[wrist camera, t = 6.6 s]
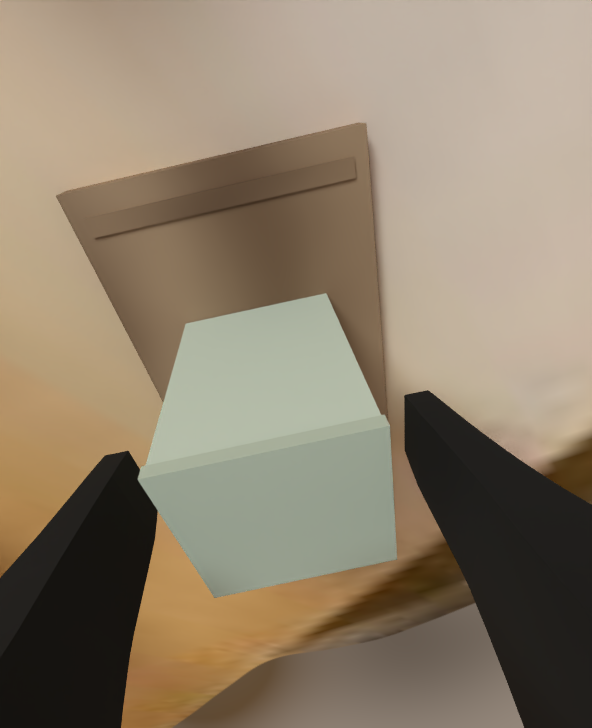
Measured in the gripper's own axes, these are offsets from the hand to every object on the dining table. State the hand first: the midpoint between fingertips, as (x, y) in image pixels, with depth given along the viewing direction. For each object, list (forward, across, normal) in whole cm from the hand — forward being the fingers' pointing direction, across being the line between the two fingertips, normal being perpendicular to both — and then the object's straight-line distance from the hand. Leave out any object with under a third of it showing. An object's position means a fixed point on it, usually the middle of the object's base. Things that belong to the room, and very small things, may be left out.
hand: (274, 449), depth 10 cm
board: (+5, 0, 0) cm, 5 cm away
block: (+4, 0, 0) cm, 4 cm away
